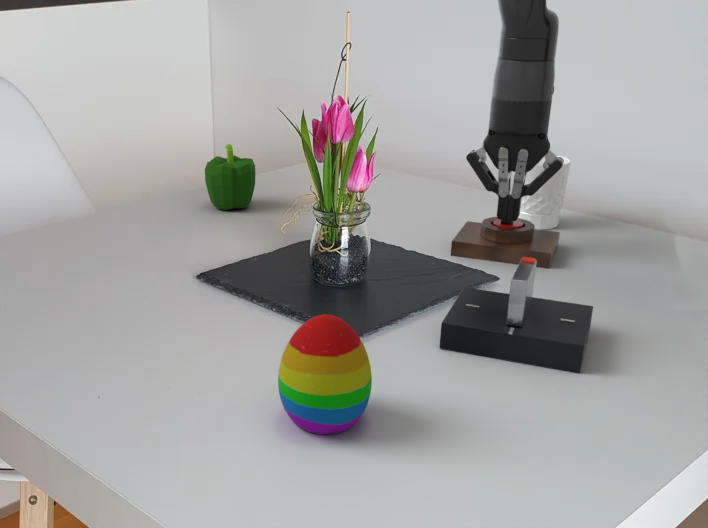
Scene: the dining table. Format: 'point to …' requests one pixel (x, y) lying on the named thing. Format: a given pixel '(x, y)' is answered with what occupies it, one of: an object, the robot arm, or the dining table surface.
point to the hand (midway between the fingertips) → (507, 222)
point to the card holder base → (518, 330)
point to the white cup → (545, 197)
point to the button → (515, 224)
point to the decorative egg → (324, 376)
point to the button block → (505, 243)
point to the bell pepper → (230, 181)
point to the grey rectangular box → (521, 291)
